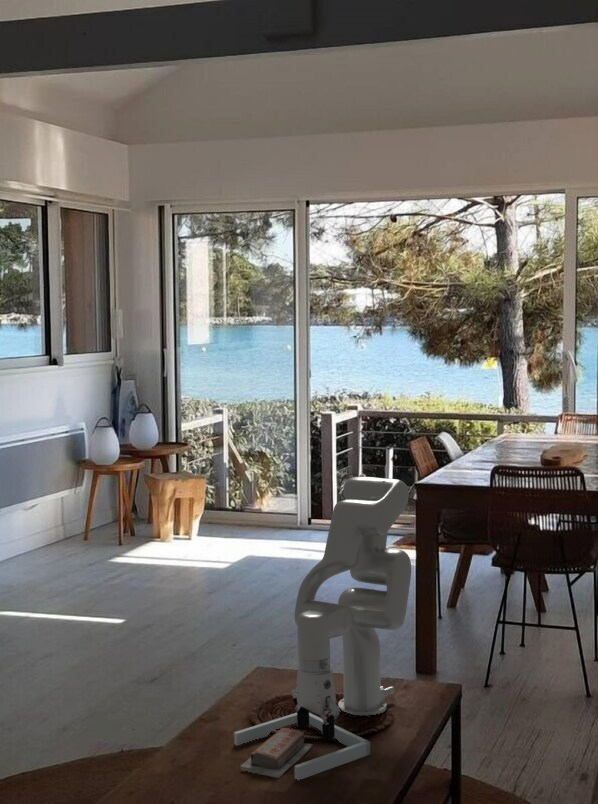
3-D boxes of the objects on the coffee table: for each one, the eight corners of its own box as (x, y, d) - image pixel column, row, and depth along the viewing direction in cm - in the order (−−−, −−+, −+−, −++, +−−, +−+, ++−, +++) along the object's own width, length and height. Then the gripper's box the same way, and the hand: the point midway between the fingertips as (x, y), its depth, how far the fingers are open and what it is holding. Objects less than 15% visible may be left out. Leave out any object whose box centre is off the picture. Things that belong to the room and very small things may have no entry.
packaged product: (275, 723, 271) (312, 729, 267) (275, 742, 272) (312, 749, 267) (239, 752, 255) (278, 759, 251) (239, 772, 256) (279, 780, 251)
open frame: (304, 721, 283) (304, 710, 282) (370, 754, 263) (370, 741, 262) (234, 744, 270) (234, 732, 270) (298, 780, 250) (297, 767, 250)
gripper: (349, 669, 262) (351, 739, 264) (304, 650, 276) (306, 718, 278) (324, 676, 258) (326, 748, 259) (279, 657, 271) (281, 726, 273)
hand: (315, 732), depth 269 cm, fingers open, 9 cm apart
